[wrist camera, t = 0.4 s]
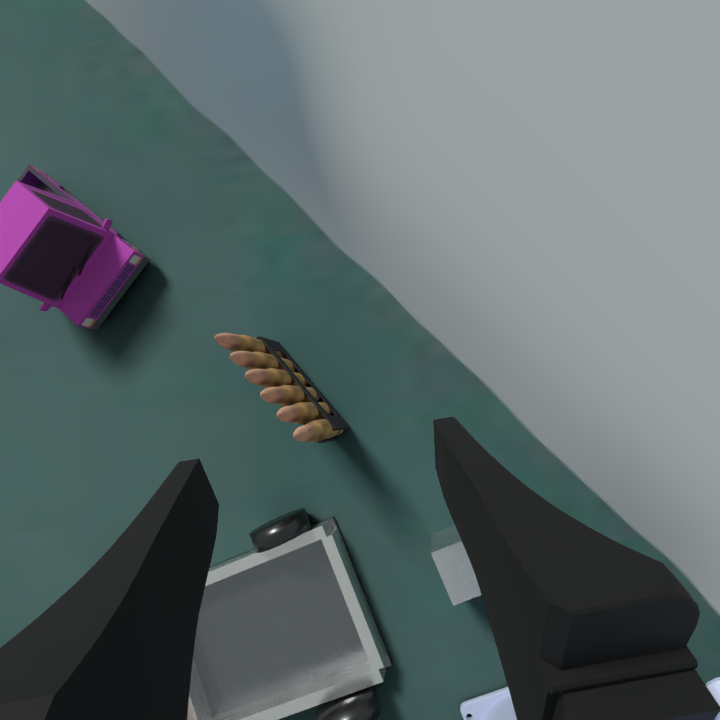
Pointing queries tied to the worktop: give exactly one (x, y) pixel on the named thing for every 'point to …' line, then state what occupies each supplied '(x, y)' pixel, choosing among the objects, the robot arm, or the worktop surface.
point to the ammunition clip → (285, 387)
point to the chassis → (287, 630)
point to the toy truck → (63, 251)
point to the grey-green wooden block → (454, 565)
